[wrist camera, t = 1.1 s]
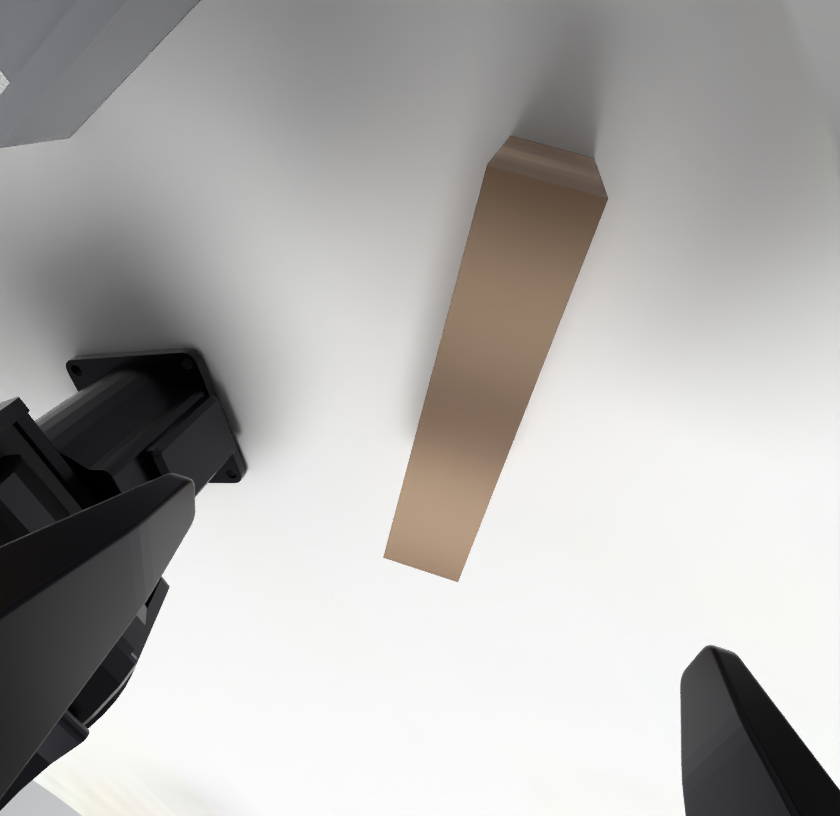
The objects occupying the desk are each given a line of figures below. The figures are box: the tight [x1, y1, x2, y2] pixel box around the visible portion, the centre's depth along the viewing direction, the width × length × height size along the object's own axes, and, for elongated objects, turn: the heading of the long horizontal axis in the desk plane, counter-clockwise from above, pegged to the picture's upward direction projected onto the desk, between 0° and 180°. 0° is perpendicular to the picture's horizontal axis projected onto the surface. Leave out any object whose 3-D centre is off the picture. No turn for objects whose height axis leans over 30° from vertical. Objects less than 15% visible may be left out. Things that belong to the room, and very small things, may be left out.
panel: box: [383, 136, 608, 582], centre depth 17 cm, size 12×2×6 cm, turn 168°
